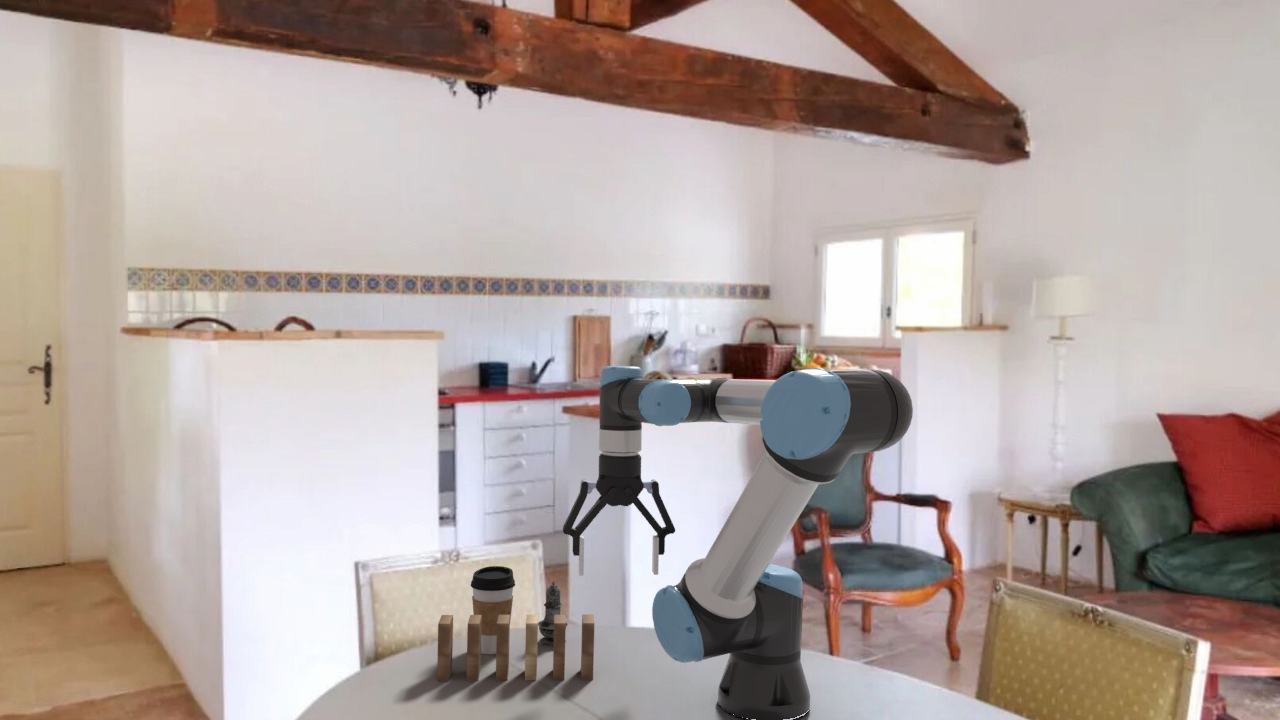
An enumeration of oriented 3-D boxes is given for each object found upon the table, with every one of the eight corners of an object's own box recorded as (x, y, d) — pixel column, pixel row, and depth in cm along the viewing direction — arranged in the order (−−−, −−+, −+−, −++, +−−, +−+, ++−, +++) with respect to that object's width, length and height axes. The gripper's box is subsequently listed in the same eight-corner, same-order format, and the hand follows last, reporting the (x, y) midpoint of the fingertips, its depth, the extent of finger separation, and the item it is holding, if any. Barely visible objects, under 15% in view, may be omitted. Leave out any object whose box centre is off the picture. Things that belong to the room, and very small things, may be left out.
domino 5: (592, 669, 170) (593, 614, 170) (593, 679, 165) (594, 623, 165) (580, 669, 170) (582, 614, 170) (581, 679, 165) (582, 623, 165)
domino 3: (508, 669, 169) (509, 614, 168) (507, 680, 164) (508, 623, 163) (497, 670, 169) (498, 614, 168) (495, 680, 164) (496, 623, 163)
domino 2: (480, 670, 168) (481, 614, 168) (478, 680, 163) (479, 623, 163) (469, 670, 168) (470, 614, 168) (466, 680, 163) (467, 623, 163)
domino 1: (452, 670, 168) (453, 614, 167) (448, 680, 163) (449, 623, 162) (440, 670, 168) (441, 614, 167) (437, 680, 163) (438, 623, 162)
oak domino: (536, 669, 169) (537, 614, 169) (536, 680, 164) (537, 623, 164) (525, 669, 169) (526, 614, 169) (524, 680, 164) (525, 623, 164)
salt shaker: (569, 637, 187) (571, 578, 187) (564, 647, 181) (565, 585, 181) (540, 636, 188) (541, 576, 187) (534, 645, 182) (535, 584, 181)
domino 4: (564, 669, 170) (565, 614, 169) (564, 679, 165) (565, 623, 164) (553, 669, 169) (554, 614, 169) (552, 679, 164) (554, 623, 164)
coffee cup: (520, 644, 182) (522, 567, 182) (503, 659, 174) (504, 578, 174) (481, 639, 184) (482, 564, 184) (461, 653, 176) (463, 574, 176)
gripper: (685, 450, 172) (683, 567, 172) (549, 450, 169) (548, 568, 169) (692, 455, 164) (690, 577, 165) (550, 455, 161) (548, 579, 162)
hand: (618, 573), depth 167 cm, fingers open, 12 cm apart
